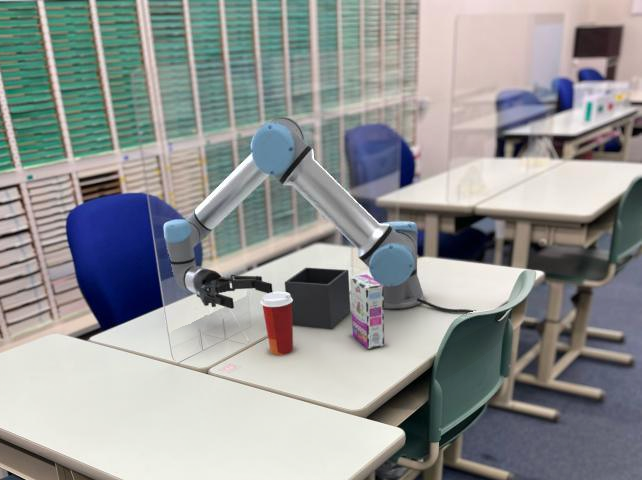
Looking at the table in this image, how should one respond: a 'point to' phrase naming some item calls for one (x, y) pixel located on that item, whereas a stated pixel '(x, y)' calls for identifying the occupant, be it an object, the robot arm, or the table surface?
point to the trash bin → (319, 297)
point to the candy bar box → (367, 311)
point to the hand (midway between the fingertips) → (252, 296)
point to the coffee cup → (278, 321)
